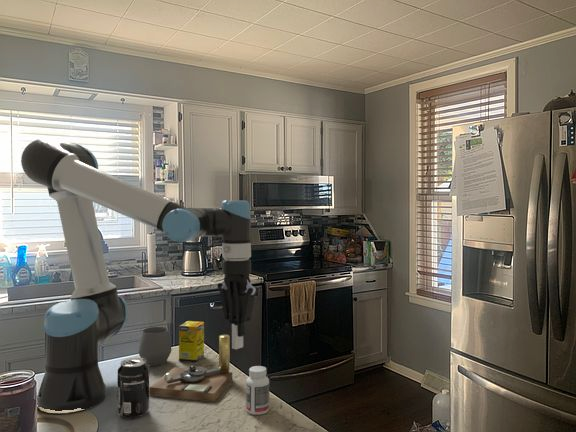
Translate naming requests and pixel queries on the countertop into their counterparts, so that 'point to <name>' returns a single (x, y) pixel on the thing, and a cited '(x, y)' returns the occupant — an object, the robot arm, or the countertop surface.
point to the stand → (192, 386)
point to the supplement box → (191, 341)
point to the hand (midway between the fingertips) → (237, 347)
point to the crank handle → (199, 373)
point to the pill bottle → (257, 391)
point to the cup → (155, 345)
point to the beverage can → (133, 388)
